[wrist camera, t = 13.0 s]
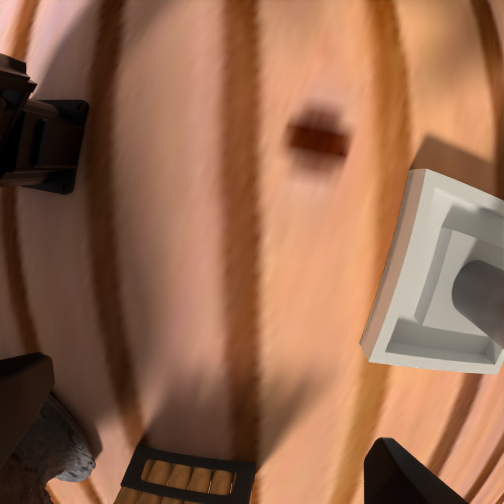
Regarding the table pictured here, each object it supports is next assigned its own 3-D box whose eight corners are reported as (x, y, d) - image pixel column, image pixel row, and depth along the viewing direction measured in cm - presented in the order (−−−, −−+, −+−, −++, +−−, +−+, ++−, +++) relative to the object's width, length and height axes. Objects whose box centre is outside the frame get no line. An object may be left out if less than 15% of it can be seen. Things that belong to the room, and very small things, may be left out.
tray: (359, 342, 20) (368, 361, 18) (409, 169, 18) (426, 168, 15) (482, 359, 20) (497, 374, 18) (528, 219, 18) (549, 224, 15)
